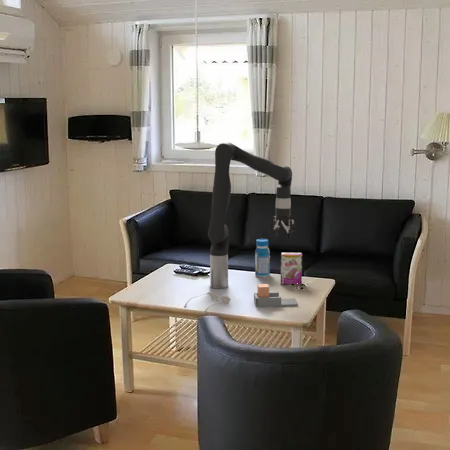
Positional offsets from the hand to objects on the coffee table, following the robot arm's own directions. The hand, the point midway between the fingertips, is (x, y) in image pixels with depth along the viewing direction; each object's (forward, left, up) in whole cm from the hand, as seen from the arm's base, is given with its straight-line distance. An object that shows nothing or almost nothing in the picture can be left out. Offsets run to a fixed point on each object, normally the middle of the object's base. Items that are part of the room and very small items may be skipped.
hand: (282, 238), depth 336 cm
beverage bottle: (-6, +31, -28) cm, 42 cm away
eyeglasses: (-39, -19, -28) cm, 52 cm away
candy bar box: (+7, +13, -28) cm, 31 cm away
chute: (-6, -20, -27) cm, 35 cm away
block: (-12, -20, -26) cm, 35 cm away
